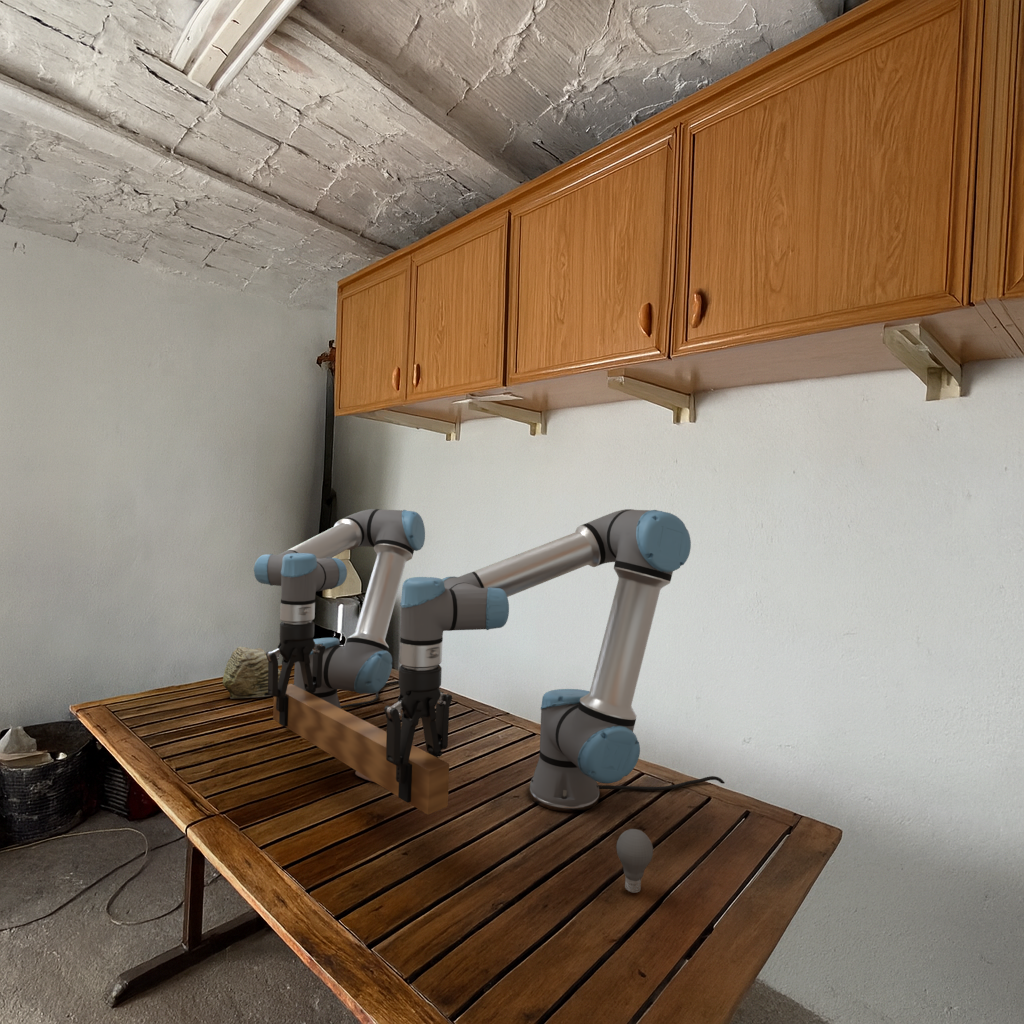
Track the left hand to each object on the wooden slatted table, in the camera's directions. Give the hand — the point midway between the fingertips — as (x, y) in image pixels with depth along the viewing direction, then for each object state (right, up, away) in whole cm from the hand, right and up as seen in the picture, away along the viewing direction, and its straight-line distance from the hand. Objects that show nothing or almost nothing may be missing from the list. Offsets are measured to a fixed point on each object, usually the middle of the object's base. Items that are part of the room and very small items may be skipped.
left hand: (294, 721), depth 145 cm
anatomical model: (+21, -12, +1) cm, 24 cm away
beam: (+17, -2, -16) cm, 23 cm away
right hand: (+33, -2, -33) cm, 46 cm away
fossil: (-30, -9, +53) cm, 61 cm away
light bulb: (+70, -15, -40) cm, 82 cm away
